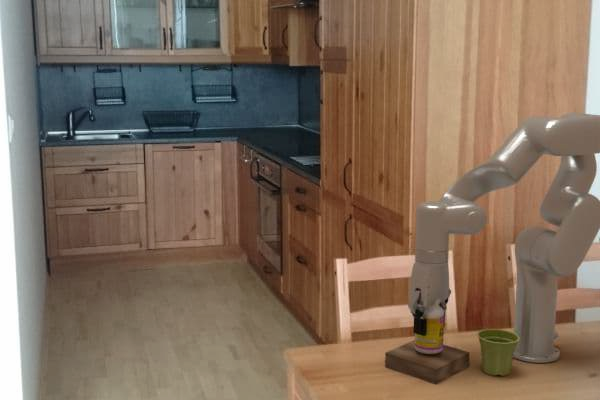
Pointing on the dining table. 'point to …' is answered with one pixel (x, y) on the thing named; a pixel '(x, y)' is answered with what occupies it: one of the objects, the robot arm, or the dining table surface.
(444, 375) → the brown wooden square slab
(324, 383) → the dining table surface
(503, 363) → the plant pot
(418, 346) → the supplement bottle
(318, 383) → the dining table surface
